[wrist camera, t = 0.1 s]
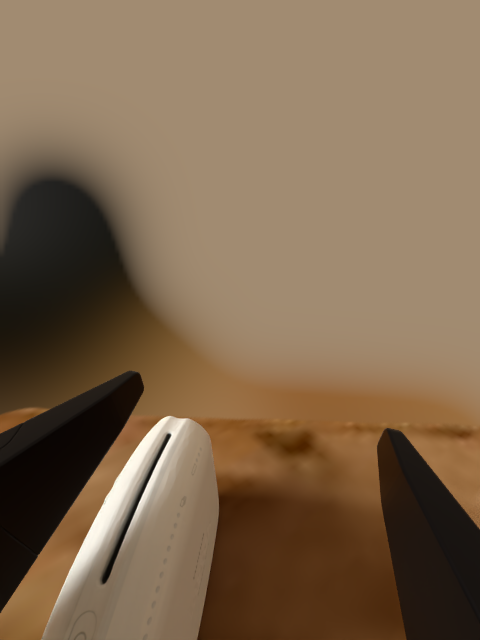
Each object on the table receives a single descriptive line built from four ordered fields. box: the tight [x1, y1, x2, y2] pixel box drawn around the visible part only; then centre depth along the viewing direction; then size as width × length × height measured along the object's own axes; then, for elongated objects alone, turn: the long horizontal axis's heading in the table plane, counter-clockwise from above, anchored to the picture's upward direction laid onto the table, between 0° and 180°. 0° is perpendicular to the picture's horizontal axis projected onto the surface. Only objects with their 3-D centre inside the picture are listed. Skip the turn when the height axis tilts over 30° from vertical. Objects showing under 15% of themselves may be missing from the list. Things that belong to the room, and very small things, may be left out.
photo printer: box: [42, 416, 219, 640], centre depth 13 cm, size 10×4×12 cm, turn 171°
